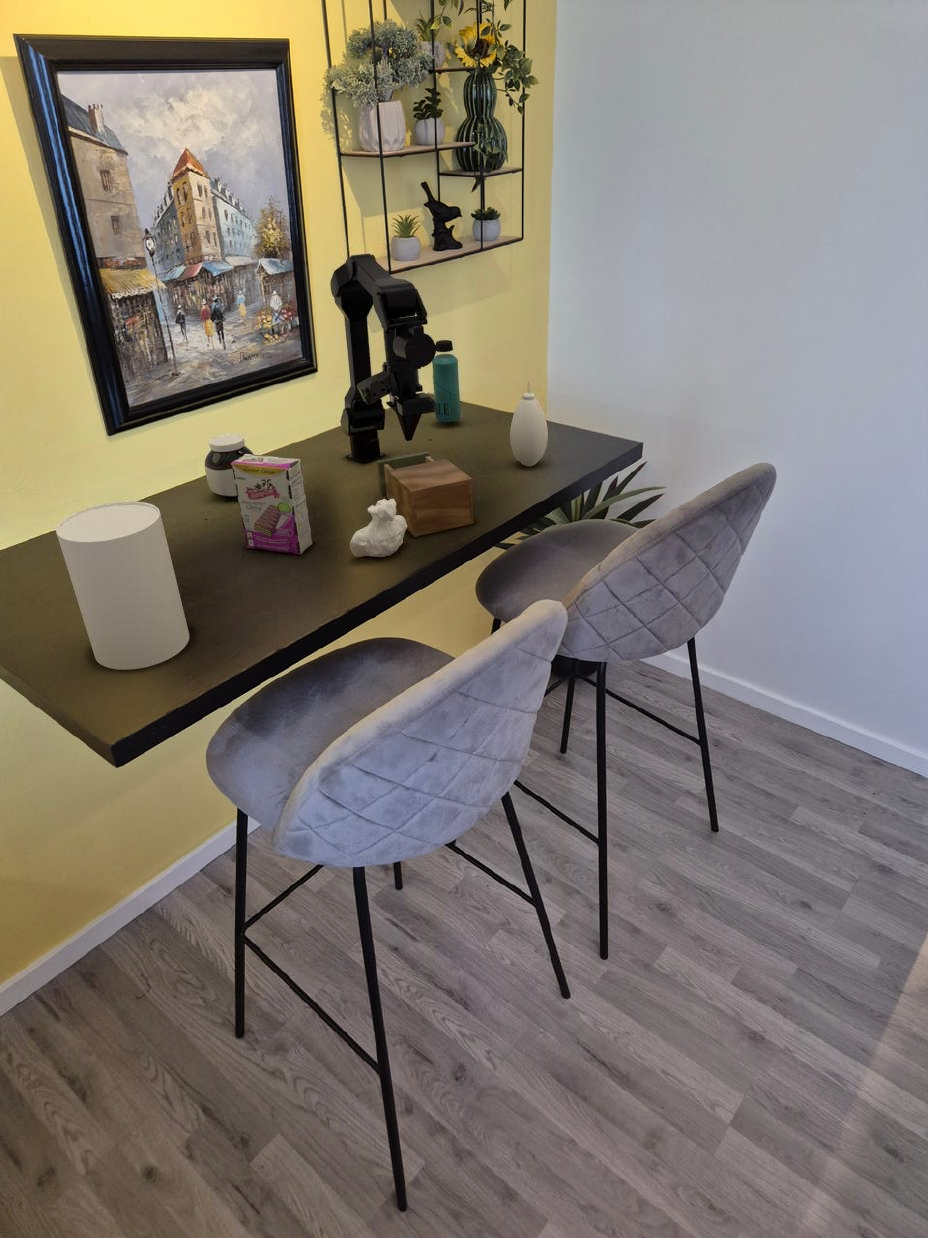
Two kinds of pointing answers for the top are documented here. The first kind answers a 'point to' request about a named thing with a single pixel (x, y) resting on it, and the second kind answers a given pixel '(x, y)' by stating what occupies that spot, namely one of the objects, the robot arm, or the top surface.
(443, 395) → the beverage bottle
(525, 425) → the white air blower bulb
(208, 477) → the spread jar
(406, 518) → the cabinet
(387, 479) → the drawer
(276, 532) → the candy bar box
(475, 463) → the top surface
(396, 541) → the white lumpy figure
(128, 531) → the canister
